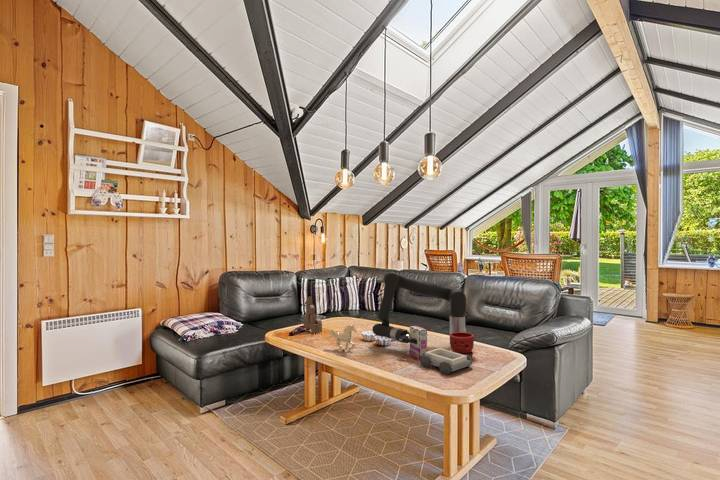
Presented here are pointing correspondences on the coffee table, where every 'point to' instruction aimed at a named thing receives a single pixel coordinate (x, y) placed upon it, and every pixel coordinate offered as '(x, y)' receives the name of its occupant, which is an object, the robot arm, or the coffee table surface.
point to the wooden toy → (311, 318)
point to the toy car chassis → (445, 360)
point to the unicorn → (344, 336)
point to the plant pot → (462, 343)
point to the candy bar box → (418, 342)
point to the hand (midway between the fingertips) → (420, 340)
